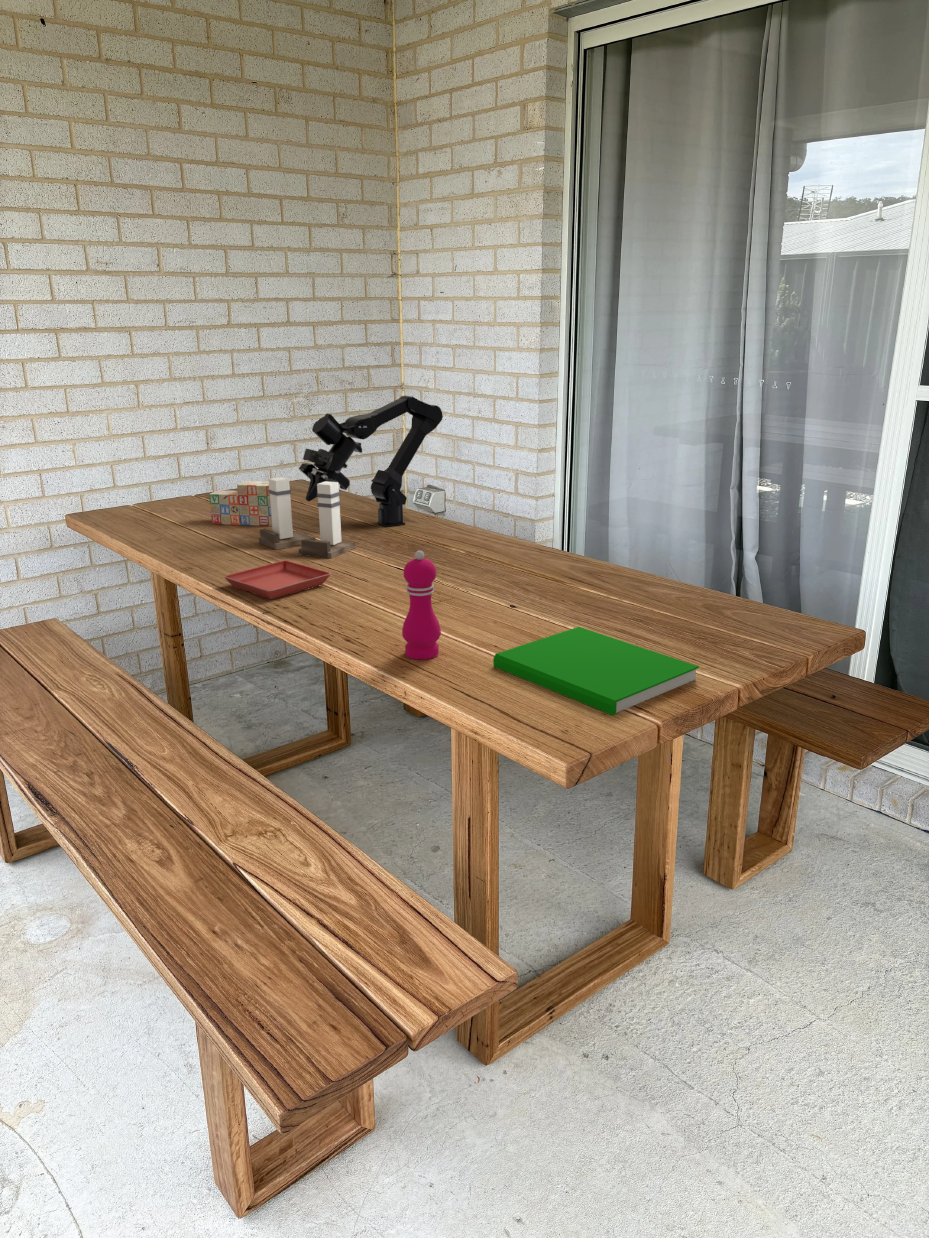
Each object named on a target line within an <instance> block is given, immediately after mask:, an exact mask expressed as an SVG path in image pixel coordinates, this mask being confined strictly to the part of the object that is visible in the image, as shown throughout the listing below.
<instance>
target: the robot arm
mask: <svg viewBox="0 0 929 1238" xmlns="http://www.w3.org/2000/svg"><path fill="white" fill-rule="evenodd" d="M406 413H408V414H409V415H411V416H412V417H411V427H410V429H409V431H408V433H407V434H406V436H405V438H404V439H403V441H402V443H401V444H400V446H399V448H398V450H397V452H396V453H395V455H394V456H393V458H392V460H391V462H390V463H389V466H388V467H387V468H385V469H384V470H381V469H378V470H377V471H376V474H375V476H374V477H373V479H371V481H370V482H371V484H370V492H371V495H372V496H373V497H374V499H375V501H376V503H379V507H378V509H377V517H378V519H377V520H378V521H377V523H378V524H380V525H381V526H384V527H393V526H401V525H406V523H407V522H406V521H404V514H403V513H404V511H403V510H404V509H403V507H404V506H403V505H406V503H407V500H408V499H407V496H406V495H405V494H404V493H403V492H402V491H401V489H402V487H403V477H404V474H405V473H406V470H407V469H408V467H409V465H410V464H411V461H412V460H413V458H414V457H415V455H416V453H417V452H418V450H419V448H420V447H421V445H422V444H423V442H424V441H425V438H426V437H427V435H429V434H430V433H432V432H433V431H435V429H437V427H438V426H439V424H440V423H441V422H442V420H443V416H444V415H443V411H442V409H441V406H438V405H435V404H429V403H427V402H424V401H422V400H419V399H417V398H416V397H414V396H411V395H402V396H400V397H399V398H397V399H395V400H394V401H392V402H389V403H387V404H385V405H383V406H382V407H379V408H377V409H375V410H373V411H371V412H368V413H364V414H363V413H362V414H358V415H354V416H350V417H348V418H347V419H345V421H344V422H341V423H339V422H338V420H337V419H335V417H334V415H332V414H331V413H325V414H324V416H322V417H321V418H319V419H318V420H317V421H315V422H314V423H313V425H312V428H311V430H312V433H314V434H315V436H317V437H318V438H319V439H320V440H321V441H322V442H323V443H324V444H325V445H327V446H331V445H332V446H331V447H330V449H329V450H328V451H327V450H326V449H322V448H319V449H318V450H314V449H311V448H305V450H304V454H303V456H302V460H304V461H308V462H303V463H301V465H299V467H298V470H299V471H300V472H301V473H303V474H304V476H306V478H308V479H309V486H308V489H307V492H306V495H305V496H306V497H305V500H306V501H307V502H311V501H313V500H315V499H317V498H318V497H317V493H318V491H317V484H319V483H322V482H325V481H327V482H338V485H339V489H341V490H343V491H347V490H348V488H349V487H350V486H351V484H350V482H351V481H350V479H349V478H348V477H347V476H345V474H344V473H342V472H341V471H342V469H347V467H348V464H347V462H348V460H349V459H350V458H351V456H352V455H353V453H354V452H355V453H360V454H361V453H363V448H362V443H361V442H357V441H355V440H354V439H357V440H365V439H368V438H369V437H370V436H372V435H374V433H376V431H377V429H378V428H379V427H381V426H383V425H385V424H387V423H388V422H390V421H392V420H394V419H396V418H398V417H400V416H402V415H404V414H406ZM309 462H311V463H309ZM312 463H313V464H312Z"/></svg>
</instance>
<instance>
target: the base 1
mask: <svg viewBox="0 0 929 1238" xmlns="http://www.w3.org/2000/svg"><path fill="white" fill-rule="evenodd" d="M303 539H309V540H316V537H315V536H312V535H309V534H307V533H303V532H301V531H299V530H296V531H295V530H294V531H293V537H290V538H284V539H279V534H278V533H275V532H273V530H270V529H267V528H261V529H259V537H258V543H259V544H261V545H264V546H265V547H268V548H271V549H273V548H274V550H276V549H279V550H283V548H284V549H288V548H293V546H295V547H298V546H297V545H300V546H301V540H303Z"/></svg>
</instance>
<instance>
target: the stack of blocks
mask: <svg viewBox="0 0 929 1238" xmlns="http://www.w3.org/2000/svg"><path fill="white" fill-rule="evenodd" d="M236 489H237V490H224V489H223V490H219V489H218V490H215V491H213V492H211V493H209V494H208V498H209V506H210V507H209V508H210V514H211V517H210V518H211V524H213V525H233V526H234V525H235V526H260V525H268V526H267V527H272V517H271V504H270V494H269V480H268V481H256V480H255V481H252V480H251V481H249V480H244V481H242V482H240V483H238V484H237V485H236Z"/></svg>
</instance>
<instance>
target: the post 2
mask: <svg viewBox="0 0 929 1238" xmlns="http://www.w3.org/2000/svg"><path fill="white" fill-rule="evenodd" d="M339 489H340V484H338V482H327V481H325V482H322V483H319V484H317V491H318V493H317V497H316V498H317V508H318V518H319V519H318V521H319V522H318V523H319V536H320V540H321V541H327V542H330V545H335V544H337V543H339V542H342V541H343V540H342V527H341V524H342V523H341V506H340V505H341V501H340V496H341V493H340V490H339ZM320 540H319V541H320Z"/></svg>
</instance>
